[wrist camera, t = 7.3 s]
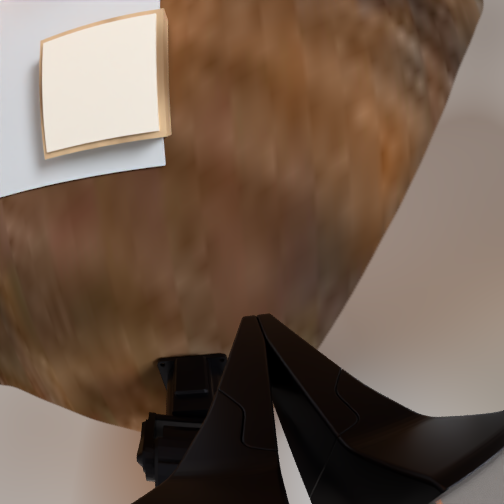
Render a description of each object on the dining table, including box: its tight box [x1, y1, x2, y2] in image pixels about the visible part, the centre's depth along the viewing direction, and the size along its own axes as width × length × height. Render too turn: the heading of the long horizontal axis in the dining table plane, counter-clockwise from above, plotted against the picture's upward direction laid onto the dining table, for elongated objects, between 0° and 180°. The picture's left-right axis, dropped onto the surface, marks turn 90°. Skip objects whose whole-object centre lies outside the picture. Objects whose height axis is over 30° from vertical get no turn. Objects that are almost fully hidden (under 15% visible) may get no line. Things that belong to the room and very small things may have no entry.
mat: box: [0, 0, 166, 197], centre depth 13 cm, size 18×16×1 cm
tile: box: [39, 8, 172, 159], centre depth 14 cm, size 8×3×8 cm
